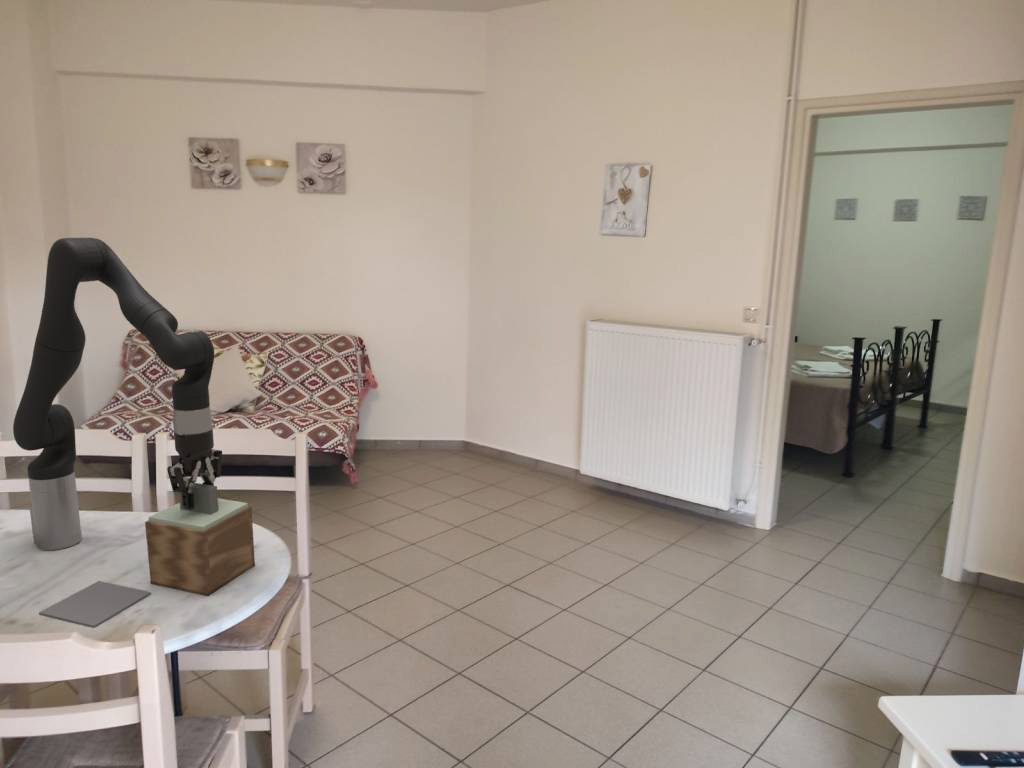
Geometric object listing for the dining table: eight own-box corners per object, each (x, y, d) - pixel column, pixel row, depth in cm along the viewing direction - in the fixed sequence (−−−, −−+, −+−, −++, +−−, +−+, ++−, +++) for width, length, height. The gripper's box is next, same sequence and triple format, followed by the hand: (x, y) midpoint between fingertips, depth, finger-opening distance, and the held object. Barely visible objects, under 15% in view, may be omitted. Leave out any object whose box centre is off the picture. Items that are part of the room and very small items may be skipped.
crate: (150, 583, 159) (145, 522, 156) (200, 554, 173) (196, 497, 170) (208, 595, 154) (203, 532, 151) (254, 565, 168) (251, 506, 165)
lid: (149, 526, 156) (146, 492, 155) (196, 503, 169) (194, 471, 168) (203, 536, 152) (201, 501, 150) (248, 511, 165) (246, 479, 163)
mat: (39, 614, 146) (38, 612, 146) (98, 582, 159) (98, 580, 159) (94, 627, 142) (94, 625, 141) (151, 594, 154) (150, 592, 154)
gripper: (202, 417, 164) (208, 490, 168) (152, 434, 151) (159, 513, 154) (231, 421, 162) (235, 495, 165) (182, 438, 148) (189, 518, 152)
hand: (199, 503), depth 160 cm, fingers open, 5 cm apart
